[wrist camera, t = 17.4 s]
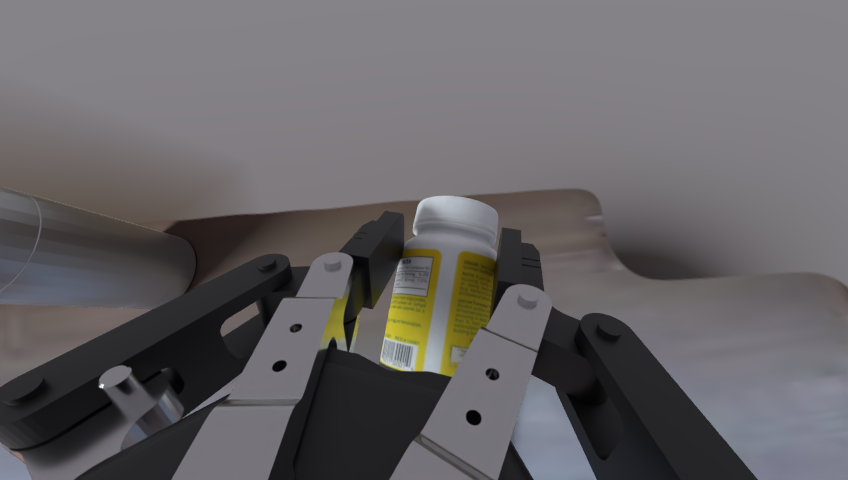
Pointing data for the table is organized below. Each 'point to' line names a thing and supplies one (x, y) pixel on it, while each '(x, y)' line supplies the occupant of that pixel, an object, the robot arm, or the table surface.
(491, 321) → the robot arm
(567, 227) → the table surface
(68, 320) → the table surface
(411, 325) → the supplement bottle
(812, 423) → the table surface
